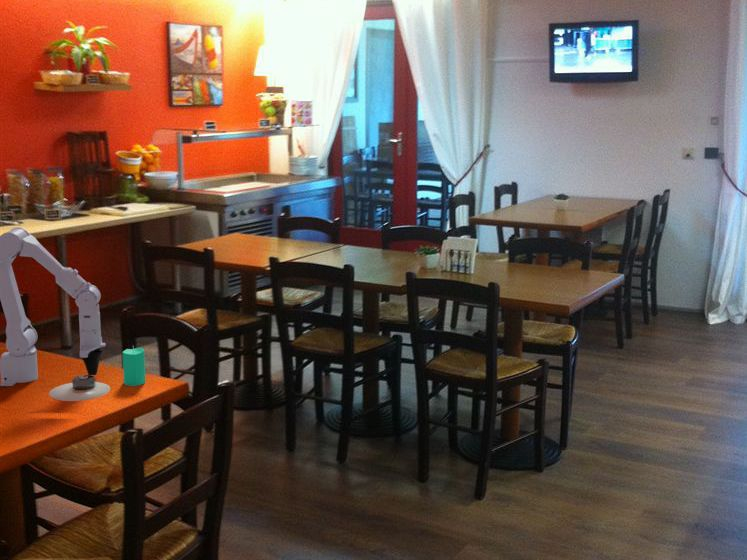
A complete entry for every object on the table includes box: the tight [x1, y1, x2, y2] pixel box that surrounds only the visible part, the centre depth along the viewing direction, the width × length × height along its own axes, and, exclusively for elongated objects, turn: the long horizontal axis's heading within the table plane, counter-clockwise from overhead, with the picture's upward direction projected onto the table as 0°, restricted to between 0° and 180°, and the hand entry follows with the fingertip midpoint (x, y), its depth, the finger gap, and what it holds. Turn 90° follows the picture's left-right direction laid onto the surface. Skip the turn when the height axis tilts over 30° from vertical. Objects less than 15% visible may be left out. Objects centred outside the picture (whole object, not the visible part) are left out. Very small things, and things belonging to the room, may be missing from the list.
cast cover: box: [71, 374, 96, 390], centre depth 250 cm, size 6×6×3 cm
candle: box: [122, 346, 146, 387], centre depth 254 cm, size 6×6×12 cm
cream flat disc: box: [48, 381, 111, 402], centre depth 247 cm, size 16×16×1 cm
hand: (92, 374), depth 258 cm, fingers closed
